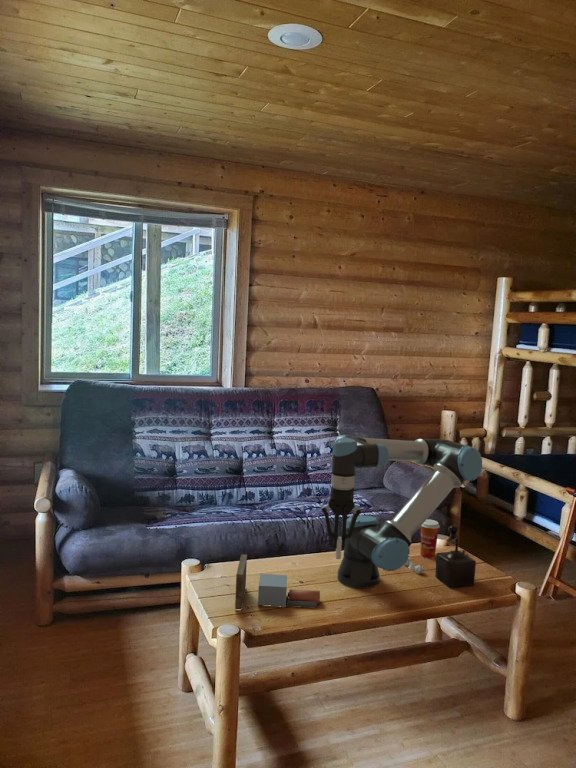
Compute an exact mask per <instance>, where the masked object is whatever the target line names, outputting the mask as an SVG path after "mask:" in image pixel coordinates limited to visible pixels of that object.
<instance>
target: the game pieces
mask: <svg viewBox="0 0 576 768" xmlns="http://www.w3.org/2000/svg"><path fill="white" fill-rule="evenodd" d="M405 565H407V566H408V567H407V569H408V568H409V569H410V570H411V571H414V572H415V574H417V575H421V574H423V572H424V569H425V568H424V566H422V565H420V564H419V565H418V564H417V565H415V564H414V562H412V561H411V557H409V558H408V560H407V562H406V563H405V564H404V565H403V566H402V567H406V566H405ZM409 569H408V570H409Z"/></svg>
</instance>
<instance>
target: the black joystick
mask: <svg viewBox="0 0 576 768" xmlns="http://www.w3.org/2000/svg"><path fill="white" fill-rule="evenodd" d="M447 528H448V529H447V530H448V532H449V533H450V536H449V538H447V542H448V543H450V544H453V545H454V547H455V548H454V550H451V551H450V550H449V551H444V552H438V553H436V559H435V561H436V562H435V575H434V576H435V578H436V579H437V580H438V581H439V582H441V583H442V584H443V585H445V586H446V587H447V588H449V589H460V588H468V587H470V588H471V587H475V577H476V565H477V563H476V560H475V559H473V558H472V557H470V555H469V554H468V553H466V550H463V551H460V550H458V549H459V544H460V539H459V537H458V532H459V527H458V526H457V525H449V527H447ZM453 540H454V541H453Z"/></svg>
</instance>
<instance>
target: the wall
mask: <svg viewBox="0 0 576 768" xmlns="http://www.w3.org/2000/svg"><path fill="white" fill-rule="evenodd" d="M247 559H248V554H241V553H240V558H239V562H238V567H237V570H236V577H235V597H234V598H235V599H234V600H235V601H234V610H235V609H241V608H243V605H242V603H243V604H244V599H243V598H245V594H244V592H245V593H246V589H245V587H246V586H247V565H248V564H247V563H248V562H247V561H248V560H247ZM246 588H247V587H246Z"/></svg>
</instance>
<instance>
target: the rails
mask: <svg viewBox="0 0 576 768" xmlns="http://www.w3.org/2000/svg"><path fill="white" fill-rule="evenodd" d="M288 597H289V591H287V598H288ZM287 605H288V606H287ZM317 605H318V604H317V602H312V601H293V600H289V599H287V600H286V606H287V607H289V606H301V607H300V608H309V607H315V608H314V609H317V607H318V606H317Z"/></svg>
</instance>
